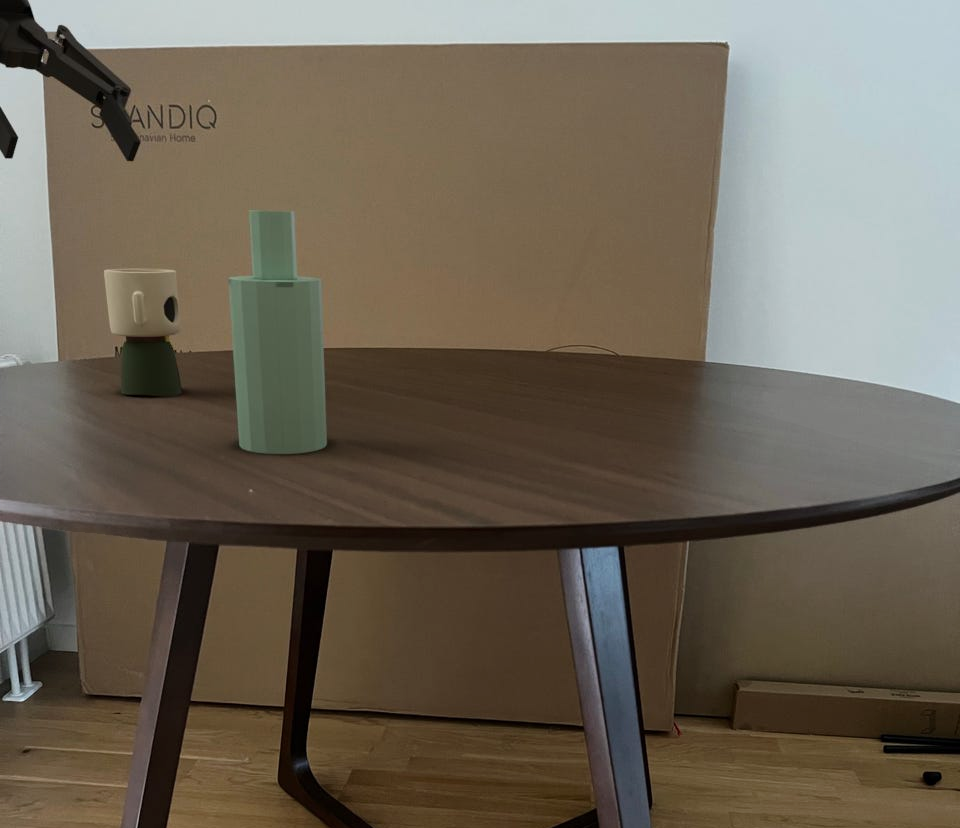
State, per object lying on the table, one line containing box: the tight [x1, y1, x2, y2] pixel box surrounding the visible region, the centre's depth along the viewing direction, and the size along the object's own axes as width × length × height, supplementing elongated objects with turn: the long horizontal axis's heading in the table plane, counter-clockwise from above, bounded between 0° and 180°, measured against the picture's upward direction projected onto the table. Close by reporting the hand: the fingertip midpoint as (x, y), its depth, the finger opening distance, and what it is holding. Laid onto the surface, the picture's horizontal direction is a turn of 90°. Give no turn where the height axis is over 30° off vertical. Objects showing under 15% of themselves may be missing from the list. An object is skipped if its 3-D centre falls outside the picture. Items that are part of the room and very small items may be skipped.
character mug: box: [103, 267, 183, 398], centre depth 108 cm, size 11×7×13 cm, turn 12°
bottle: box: [227, 209, 328, 455], centre depth 84 cm, size 7×7×19 cm
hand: (75, 150), depth 107 cm, fingers open, 13 cm apart
